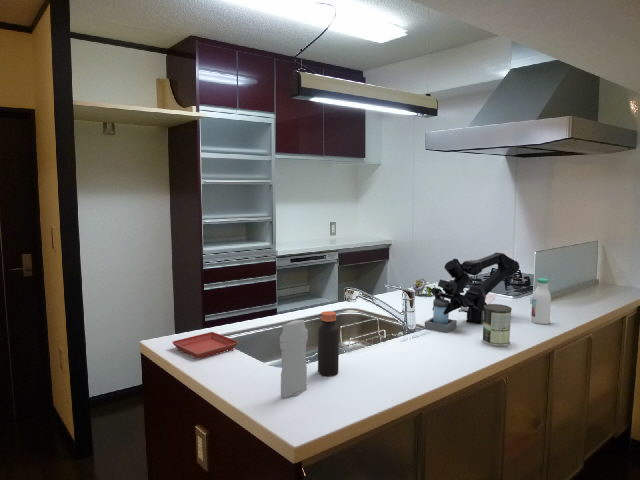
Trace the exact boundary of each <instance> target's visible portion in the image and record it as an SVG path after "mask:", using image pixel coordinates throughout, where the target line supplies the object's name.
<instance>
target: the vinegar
mask: <svg viewBox="0 0 640 480" xmlns="http://www.w3.org/2000/svg"><path fill="white" fill-rule="evenodd" d="M320 322H321V325H319V326H318V328H317V373H318V375H321V376H324V377H334V376H336V375H338V373H339V360H340V359H339V353H340V352H339V350H340V349H339V348H340V347H339V346H340V345H339V344H340V343H339V340H340V339H339V338H340V337H339V336H340V329H339V328H340V327H339V326H337V324H336V323H337V312H335V311H331V310H329V311H327V310H326V311H322V312H320Z"/></svg>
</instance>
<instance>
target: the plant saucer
mask: <svg viewBox="0 0 640 480" xmlns="http://www.w3.org/2000/svg"><path fill="white" fill-rule="evenodd" d="M172 344H173V345H174V346H175V348H176V349H178V350H179V351H181V352H184V353H186V354H187V355H189V354H190V355H189V356H191V355H192V356H191V357H193V356H194V357H193V358H196V359H198V358H201V359H204V358H208V357H210V355H211V356H214V355H213V354H215V355H218V354H220V352H222V353H225V352H228V351H227V350H229V351H232V350H233V349H235V347H236V346H237V345H238V344H239V341H237V340H234V339H232V338H229V337H227V336H224V335H223V334H219V333H218V332H215V331H214V332H213V331H209V332H205V333H202V334H197V335H192V336H189V337H184V338H180V339H177V340H172ZM231 349H232V350H231ZM224 351H225V352H224ZM217 353H218V354H217ZM207 356H208V357H207ZM203 357H204V358H203Z"/></svg>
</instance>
